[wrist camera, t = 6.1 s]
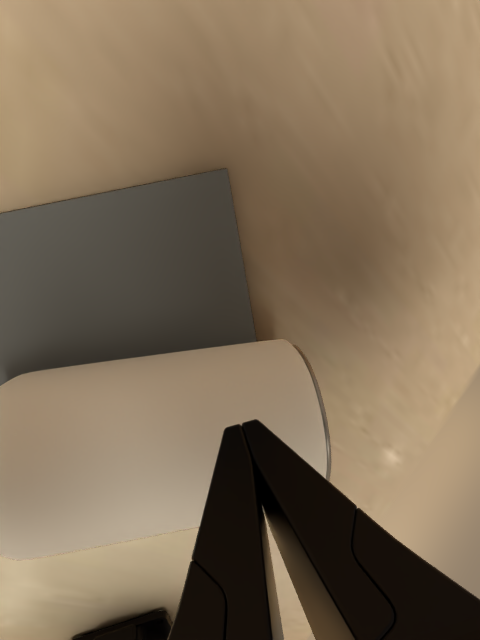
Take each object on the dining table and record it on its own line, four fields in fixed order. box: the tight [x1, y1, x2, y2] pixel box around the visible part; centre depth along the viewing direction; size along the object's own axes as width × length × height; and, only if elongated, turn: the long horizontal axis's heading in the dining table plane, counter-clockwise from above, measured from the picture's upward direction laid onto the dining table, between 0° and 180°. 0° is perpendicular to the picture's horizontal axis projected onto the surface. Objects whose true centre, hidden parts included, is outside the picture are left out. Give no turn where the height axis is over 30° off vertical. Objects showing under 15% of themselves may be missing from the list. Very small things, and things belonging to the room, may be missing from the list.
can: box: [0, 339, 331, 560], centre depth 14 cm, size 6×6×12 cm
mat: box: [0, 168, 257, 386], centre depth 15 cm, size 11×14×1 cm
